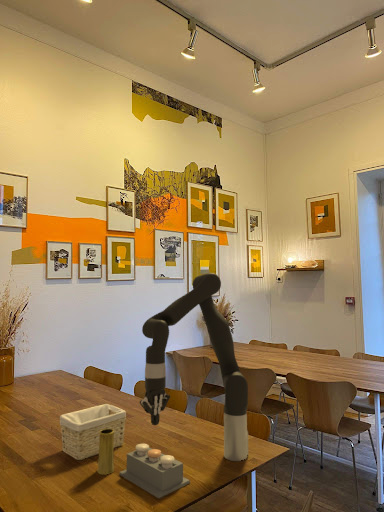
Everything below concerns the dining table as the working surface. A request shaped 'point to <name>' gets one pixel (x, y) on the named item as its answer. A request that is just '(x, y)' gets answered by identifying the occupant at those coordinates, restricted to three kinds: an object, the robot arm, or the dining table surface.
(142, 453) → the knob far
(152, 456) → the knob mid
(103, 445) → the vase
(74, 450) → the storage basket
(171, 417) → the dining table surface
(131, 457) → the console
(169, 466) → the knob near
